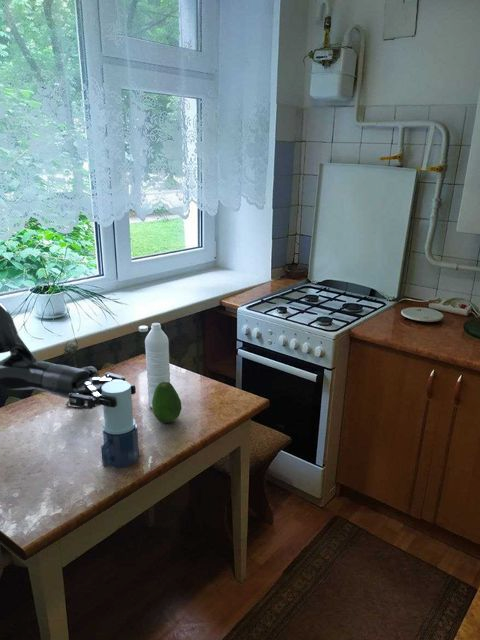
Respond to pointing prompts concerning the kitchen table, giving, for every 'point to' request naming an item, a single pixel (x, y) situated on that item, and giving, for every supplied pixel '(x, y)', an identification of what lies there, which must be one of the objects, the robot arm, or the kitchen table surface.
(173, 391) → the avocado
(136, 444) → the navy pipe fitting
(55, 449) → the kitchen table surface
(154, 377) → the water bottle
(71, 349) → the plant with pod
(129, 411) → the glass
